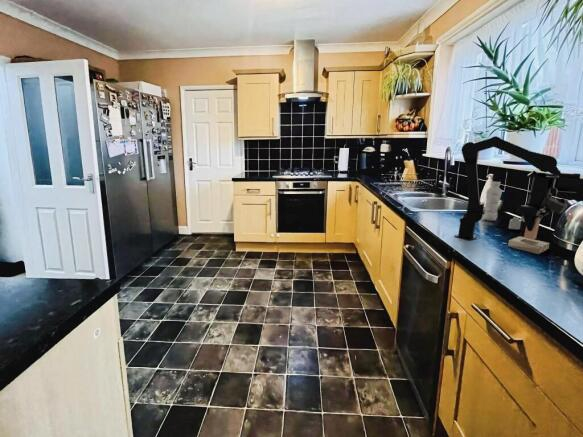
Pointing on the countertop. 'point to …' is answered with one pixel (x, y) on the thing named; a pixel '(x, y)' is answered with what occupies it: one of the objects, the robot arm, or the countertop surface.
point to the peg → (534, 231)
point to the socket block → (528, 245)
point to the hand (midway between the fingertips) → (531, 230)
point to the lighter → (515, 223)
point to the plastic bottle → (492, 201)
